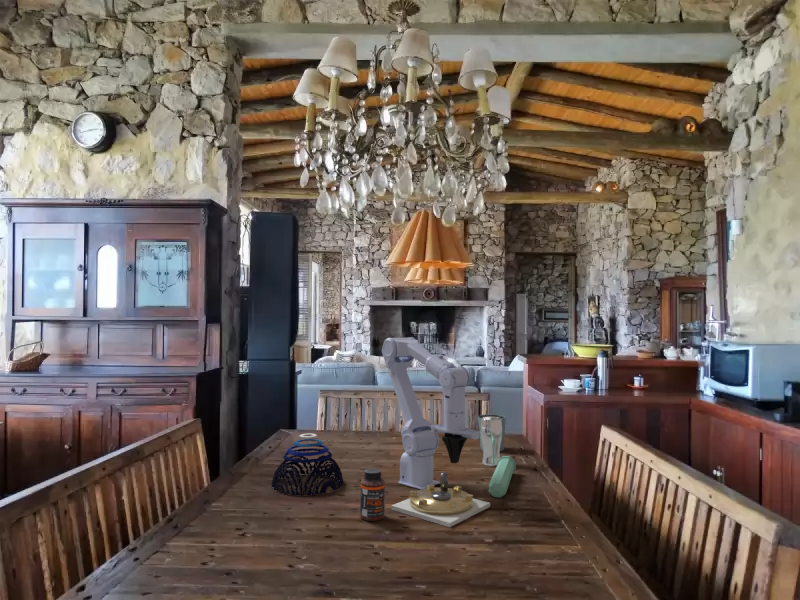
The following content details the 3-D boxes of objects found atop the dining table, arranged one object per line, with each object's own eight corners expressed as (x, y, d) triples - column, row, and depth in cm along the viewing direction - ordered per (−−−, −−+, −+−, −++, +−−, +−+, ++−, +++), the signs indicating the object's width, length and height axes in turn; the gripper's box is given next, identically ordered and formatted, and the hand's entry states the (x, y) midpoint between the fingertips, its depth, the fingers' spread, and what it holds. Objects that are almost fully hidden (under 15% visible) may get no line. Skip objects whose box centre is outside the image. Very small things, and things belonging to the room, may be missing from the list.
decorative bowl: (356, 484, 159) (357, 434, 159) (300, 501, 144) (301, 446, 144) (314, 471, 172) (314, 425, 173) (259, 485, 158) (259, 435, 158)
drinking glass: (509, 448, 202) (509, 415, 202) (499, 454, 193) (499, 420, 193) (484, 444, 207) (484, 413, 207) (473, 450, 198) (473, 417, 199)
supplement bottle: (366, 523, 128) (366, 475, 129) (356, 515, 133) (356, 469, 134) (388, 519, 131) (388, 472, 131) (378, 511, 136) (378, 465, 137)
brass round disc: (434, 519, 128) (434, 494, 128) (397, 500, 141) (397, 477, 141) (485, 506, 136) (485, 483, 136) (446, 489, 150) (446, 468, 150)
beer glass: (478, 465, 179) (478, 419, 179) (483, 459, 185) (483, 415, 186) (499, 467, 176) (499, 420, 177) (504, 462, 183) (503, 417, 183)
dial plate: (391, 509, 138) (391, 505, 138) (433, 492, 151) (433, 488, 151) (449, 527, 126) (449, 522, 126) (490, 506, 140) (490, 502, 140)
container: (502, 477, 146) (511, 452, 169) (482, 483, 147) (494, 458, 171) (511, 498, 145) (519, 471, 169) (490, 504, 146) (501, 476, 170)
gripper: (485, 412, 146) (485, 463, 145) (441, 407, 155) (441, 455, 155) (470, 416, 140) (471, 469, 140) (426, 410, 150) (426, 460, 149)
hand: (454, 462), depth 147 cm, fingers closed
